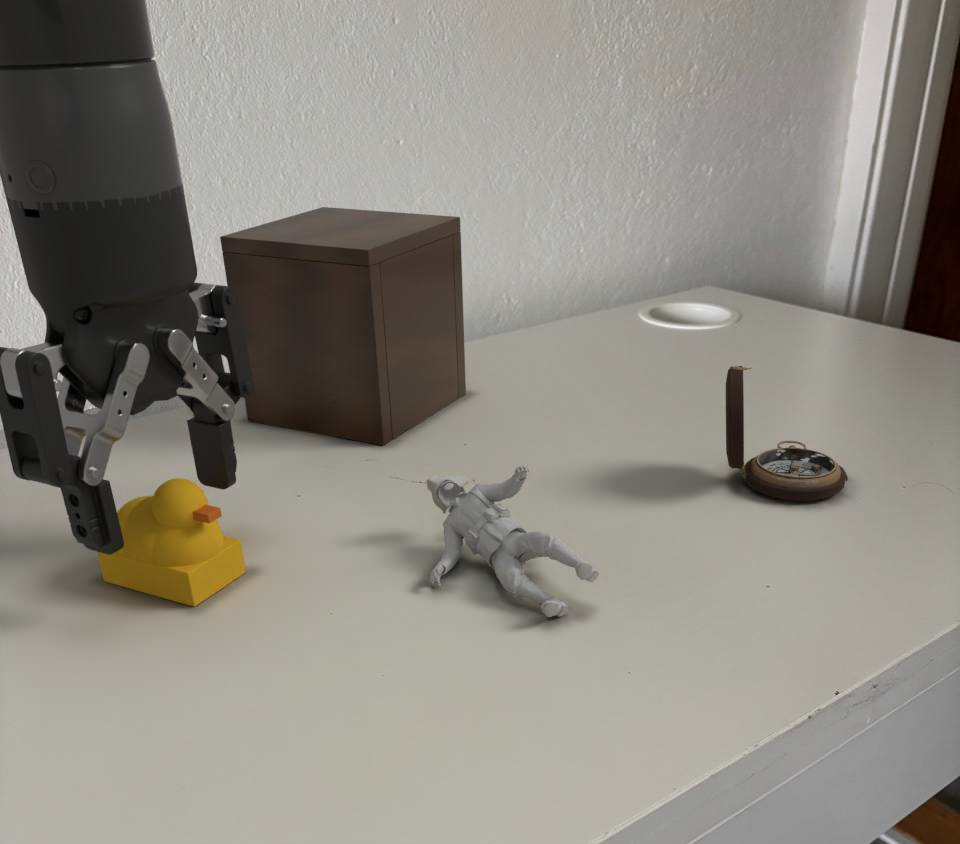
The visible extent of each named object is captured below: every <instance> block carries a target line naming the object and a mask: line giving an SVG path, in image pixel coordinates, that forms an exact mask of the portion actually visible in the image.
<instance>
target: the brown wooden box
mask: <svg viewBox="0 0 960 844" xmlns="http://www.w3.org/2000/svg"><path fill="white" fill-rule="evenodd" d="M219 240H220V246H221V252H222V259H223V267H224V272H225V279H226V286H231V287H233V288H234V289H235V290H236V292H237V296H238V301H239V307H240V312H241V317H242V322H243V328H244V333H245V338H246V343H247V349H248V354H249V359H250V364H251V370H252V375H253V380H254V392H253V394H252V396H251V397H250V398H243V399H244V404H245V412H246V418H247V421H248V422H253V423H258V424H264V425H270V426H275V427H280V428H287V429H292V430H297V431H302V432H308V433H313V434H319V435H324V436H329V437H335V438H340V439H346V440H352V441H356V442H357V441H358V442H361V443H362V442H363V443H369V444H374V445H379V446H385V445H386V444H388V443H390V442H391V441H393V440H395V439H396V438H397V437H399V436H401V435H403V434H404V433H406V432H407V431H409V430H411V429H412V428H413V427H415V426H417V425H418V424H420V423H422V422H423V421H424V420H427V419H428V418H430V417H431V416H433V415H435V414H436V413H437V412H439V411H441V410H442V409H443V408H445V407H447V406H449V405H450V404H451V403H453V402H455V401H457V400H458V399H459V398H462V397H464V396H465V395H466V394H467V386H466V354H465V353H466V352H465V350H466V349H465V324H464V323H465V321H464V290H463V288H464V287H463V262H462V232H461V217H460V216H453V215H439V214H423V213H412V212H411V213H410V212H399V211H398V212H396V211H384V210H368V209H355V208H344V207H329V206H322V207H318V208H315V209H312V210H308V211H304V212H301V213H297V214H293V215H291V216H287V217H284V218H279V219H276V220H273V221H270V222H266V223H263V224H260V225H256V226H253V227H248V228H245V229H241V230H239V231H235V232H231V233H228V234H224V235H221V236H220V237H219Z"/></svg>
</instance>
